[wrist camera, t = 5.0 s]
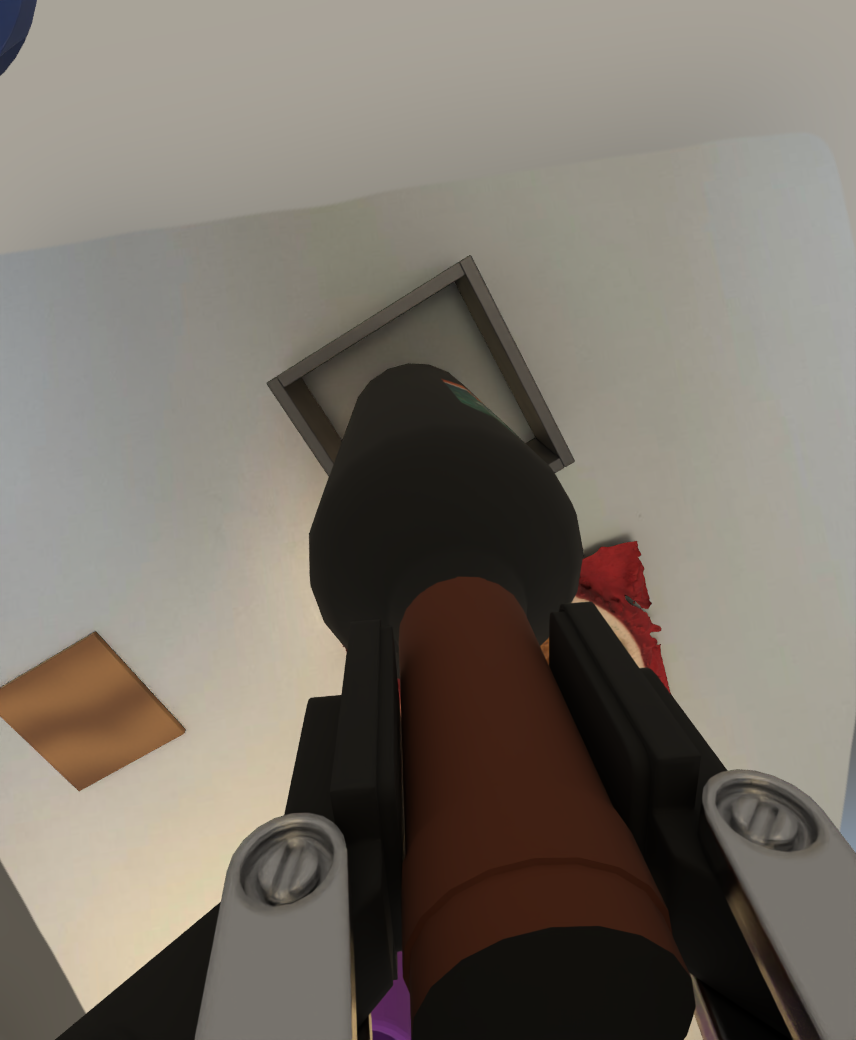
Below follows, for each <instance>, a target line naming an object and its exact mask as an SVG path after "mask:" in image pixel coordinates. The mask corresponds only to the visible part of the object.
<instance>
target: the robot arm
mask: <svg viewBox="0 0 856 1040" xmlns="http://www.w3.org/2000/svg"><path fill="white" fill-rule="evenodd" d="M549 667H550V669H551V671H552V674H553V676H554V678H555V680H556V682H557V684H558V687H559V689H560V691H561V693H562V695H563V698H564V700H565V702H566V704H567V706H568V709H569V711H570V713H571V715H572V717H573V720H574V722H575V724H576V726H577V728H578V730H579V733H580V735H581V737H582V739H583V741H584V744H585V746H586V748H587V750H588V752H589V755H590V757H591V759H592V761H593V763H594V766H595V768H596V770H597V772H598V774H599V776H600V779H601V781H602V783H603V785H604V787H605V790H606V792H607V794H608V796H609V798H610V801H611V803H612V805H613V807H614V809H615V810H616V811H617V813H618V814H619V815H620V817H621V818H622V820H623V821H624V822H625V824H626V825H627V827H628V828H629V830H630V831H631V832H632V834H633V837H634V839H635V841H636V843H637V845H638V847H639V849H640V852H641V854H642V856H643V858H644V860H645V862H646V864H647V866H648V869H649V871H650V873H651V875H652V877H653V879H654V881H655V884H656V886H657V888H658V890H659V892H660V894H661V896H662V898H663V901H664V903H665V905H666V907H667V909H668V911H669V917H670V923H671V929H672V935H673V939H674V941H675V943H676V945H677V947H678V949H679V952H680V954H681V956H682V958H683V960H684V963H685V965H686V967H687V969H688V971H689V974H690V976H691V978H692V983H693V990H694V996H695V1003H696V1009H695V1012H694V1015H695V1018H696V1021H697V1024H698V1026H699V1029H700V1032H701V1035H702V1038H703V1040H856V853H855V852H854V850H853V849H852V848H851V846H850V845H849V843H848V842H847V841H846V840H845V838H844V837H843V836H842V834H841V833H840V832H839V830H838V829H837V828H836V826H835V825H834V824H833V822H832V821H831V820H830V819H829V817H828V816H827V815H826V813H825V812H824V811H823V810H822V809H821V808H820V807H819V805H818V804H817V803H816V802H815V801H814V800H813V799H812V798H811V797H810V796H808V795H807V794H805V793H804V792H803V791H801V790H800V789H798V788H797V787H795V786H794V785H792V784H790V783H788V782H786V781H784V780H782V779H779V778H777V777H775V776H772V775H769V774H765V773H761V772H758V771H752V770H740V769H736V770H730V771H727V769H726V768H725V767H724V765H723V764H722V762H721V761H720V760H719V758H718V757H717V756H716V754H715V753H714V752H713V750H712V749H711V748H710V746H709V745H708V744H707V742H706V741H705V740H704V738H703V737H702V736H701V734H700V733H699V731H698V730H697V729H696V727H695V726H694V725H693V723H692V722H691V721H690V719H689V718H688V717H687V715H686V714H685V713H684V711H683V710H682V709H681V707H680V706H679V704H678V703H677V702H676V700H675V699H674V698H673V696H672V695H671V694H670V692H669V691H668V690H667V688H666V687H665V686H664V684H663V683H662V682H661V680H660V679H659V677H658V676H657V675H656V674H655V673H654V672H653V671H652V670H651V669H650V668H647V667H645V668H639V667H638V665H637V664H636V662H635V661H634V660H633V658H632V657H631V655H630V654H629V653H628V651H627V650H626V648H625V647H624V645H623V644H622V643H621V641H620V640H619V638H618V637H617V636H616V634H615V633H614V631H613V630H612V628H611V627H610V626H609V624H608V623H607V621H606V620H605V619H604V617H603V616H602V614H601V613H600V612H599V610H598V609H597V607H596V606H595V604H594V603H593V602H590V601H589V602H577V603H566V604H561V605H560V608H559V612H551V614H550V620H549ZM405 857H406V856H405V824H404V793H403V761H402V729H401V712H400V701H399V690H398V680H397V669H396V658H395V647H394V636H393V627H392V626H389V627H382V626H381V620H380V619H379V620H367V621H355V622H351V623H350V630H349V638H348V646H347V655H346V663H345V671H344V679H343V688H342V695H336V696H325V697H314V698H310V699H309V700H308V704H307V708H306V713H305V717H304V722H303V727H302V732H301V737H300V742H299V746H298V751H297V756H296V761H295V766H294V771H293V775H292V780H291V785H290V790H289V795H288V800H287V805H286V809H285V814H284V816H281V817H277V818H274V819H272V820H270V821H269V822H267V823H265V824H263V825H261V826H260V827H258V828H257V829H256V830H254V831H253V832H252V833H251V834H250V835H249V836H248V837H246V838H245V839H244V840H243V841H242V843H241V844H240V846H239V847H238V848H237V850H236V851H235V853H234V854H233V856H232V859H231V861H230V864H229V867H228V870H227V873H226V878H225V883H224V888H223V894H222V899H221V902H220V903H219V904H218V905H216V906H215V907H214V908H213V909H212V910H210V911H209V912H208V913H207V914H206V915H204V916H203V917H202V918H201V919H200V920H198V921H197V922H196V923H195V924H194V925H192V926H191V927H190V928H189V929H188V930H186V931H185V932H184V933H183V934H181V935H180V936H179V937H178V938H177V939H175V940H174V941H173V942H172V943H171V944H169V945H168V946H167V947H166V948H165V949H163V950H162V951H161V952H160V953H159V954H157V955H156V956H155V957H154V958H153V959H151V960H150V961H149V962H148V963H147V964H145V965H144V966H143V967H142V968H141V969H139V970H138V971H137V972H136V973H135V974H133V975H132V976H131V977H130V978H129V979H127V980H126V981H125V982H124V983H123V984H121V985H120V986H119V987H118V988H117V989H115V990H114V991H113V992H112V993H111V994H109V995H108V996H107V997H106V998H105V999H103V1000H102V1001H101V1002H100V1003H99V1004H97V1005H96V1006H95V1007H94V1008H93V1009H91V1010H90V1011H89V1012H88V1013H87V1014H85V1015H84V1016H83V1017H82V1018H81V1019H79V1020H78V1021H77V1022H76V1023H75V1024H73V1025H72V1026H71V1027H70V1028H69V1029H67V1030H66V1031H65V1032H64V1033H63V1034H61V1035H60V1036H59V1037H58V1038H57V1039H55V1040H373V1037H372V1019H371V1012H372V1011H373V1009H374V1008H375V1007H376V1006H377V1005H378V1003H379V1002H380V1001H381V1000H382V998H383V997H384V996H385V995H386V994H387V992H388V991H389V990H390V989H391V987H392V986H393V980H398V960H397V952H399V951H402V923H401V878H402V863H403V861H404V859H405Z"/></svg>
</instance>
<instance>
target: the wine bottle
mask: <svg viewBox="0 0 856 1040" xmlns="http://www.w3.org/2000/svg"><path fill="white" fill-rule="evenodd" d="M583 554H584V553H583V548H582V542H581V537H580V531H579V525H578V520H577V514H576V512H575V509H574V507H573V504H572V502H571V501H570V499H569V497H568V495H567V494H566V492H565V490H564V489H563V487H562V485H561V483H560V482H559V480H558V478H557V477H556V475H555V473H554V471H553V470H552V468H551V467H550V466H549V465H548V464H547V463H546V462H545V461H544V460H542V459H541V458H540V457H539V456H538V455H537V454H536V453H535V452H534V451H533V450H532V449H531V448H530V447H529V446H528V445H527V444H526V443H524V442H523V441H522V440H521V439H520V438H519V437H518V436H517V435H516V434H515V433H514V432H513V431H512V430H511V429H510V428H509V427H507V426H506V425H505V424H504V423H503V422H502V421H501V420H500V419H499V418H498V417H497V416H496V415H495V414H494V413H493V412H492V411H491V410H489V409H488V408H487V407H486V406H485V405H484V404H483V403H482V402H481V401H480V400H479V399H478V398H477V397H476V396H475V395H474V394H473V393H471V392H470V391H469V390H468V389H467V388H466V387H465V386H464V385H463V384H462V383H460V382H459V381H458V380H457V379H456V378H455V377H453V376H452V375H451V374H450V373H449V372H446V371H444V370H441V369H439V368H436V367H434V366H431V365H426V364H405V365H401V366H397V367H394V368H390V369H387V370H386V371H384V372H383V373H382V374H380V375H379V376H377V377H376V378H374V379H373V380H371V381H370V382H369V384H368V385H367V386H366V388H365V389H364V390H363V391H362V393H361V394H360V395H359V397H358V399H357V402H356V404H355V407H354V410H353V412H352V415H351V418H350V421H349V423H348V426H347V429H346V432H345V434H344V437H343V440H342V443H341V445H340V448H339V451H338V454H337V456H336V459H335V462H334V465H333V467H332V470H331V473H330V476H329V478H328V481H327V484H326V487H325V489H324V492H323V495H322V498H321V501H320V504H319V506H318V509H317V512H316V515H315V518H314V521H313V524H312V527H311V530H310V533H309V562H310V584H311V588H312V591H313V593H314V596H315V599H316V601H317V604H318V607H319V609H320V612H321V615H322V617H323V620H324V622H325V624H326V625H327V626H328V627H329V629H330V630H331V631H332V632H333V633H334V635H335V636H336V637H337V638H338V639H339V641H340V642H341V643H342V644H343V646H344V647H345V648H346V649H347V646H348V638H349V630H350V623H351V622H355V621H367V620H379V619H380V620H381V626H382V627H389V626H392V627H393V636H394V647H395V658H396V669H397V678H398V679H400V698H401V729H402V761H403V793H404V824H405V856H406V857H405V859H404V861H403V863H402V878H401V923H402V970H403V979H404V982H405V984H406V986H407V989H408V991H409V993H410V1014H411V1040H684V1038H685V1037H686V1036H687V1033H688V1030H689V1027H690V1024H691V1021H692V1018H693V1015H694V1012H695V1009H696V1003H695V996H694V990H693V983H692V978H691V976H690V974H689V971H688V969H687V967H686V965H685V963H684V960H683V958H682V956H681V954H680V952H679V949H678V947H677V945H676V943H675V941H674V939H673V935H672V929H671V923H670V917H669V911H668V909H667V907H666V905H665V903H664V901H663V898H662V896H661V894H660V892H659V890H658V888H657V886H656V884H655V881H654V879H653V877H652V875H651V873H650V871H649V869H648V866H647V864H646V862H645V860H644V858H643V856H642V854H641V852H640V849H639V847H638V845H637V843H636V841H635V839H634V837H633V834H632V832H631V831H630V830H629V828H628V827H627V825H626V824H625V822H624V821H623V820H622V818H621V817H620V815H619V814H618V813H617V811H616V810H615V809H614V807H613V805H612V803H611V801H610V798H609V796H608V794H607V792H606V790H605V787H604V785H603V783H602V781H601V779H600V776H599V774H598V772H597V770H596V768H595V766H594V763H593V761H592V759H591V757H590V755H589V752H588V750H587V748H586V746H585V744H584V741H583V739H582V737H581V735H580V733H579V730H578V728H577V726H576V724H575V722H574V720H573V717H572V715H571V713H570V711H569V709H568V706H567V704H566V702H565V700H564V698H563V695H562V693H561V691H560V689H559V687H558V684H557V682H556V680H555V678H554V676H553V674H552V671H551V669H550V667H549V665H548V663H547V660H546V658H545V656H544V654H543V652H542V649H541V647H540V646H541V645H542V644H543V643H544V642H545V641H546V640H547V639H548V638H549V620H550V614H551V612H559V608H560V605H561V604H566V603H572V601H573V599H574V597H575V595H576V593H577V591H578V585H579V578H580V572H581V566H582V560H583Z"/></svg>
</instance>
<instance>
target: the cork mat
mask: <svg viewBox="0 0 856 1040" xmlns="http://www.w3.org/2000/svg"><path fill="white" fill-rule="evenodd" d="M0 717H2V718H3V719H4V720H5V721H6V722H7V723H8V724H9V725H10V726H11V727H12V728H13V729H14V730H15V731H16V732H17V733H18V734H19V735H20V736H21V737H22V738H24V739H25V740H26V741H27V742H28V743H29V744H30V745H31V746H32V747H33V748H34V749H35V750H36V751H37V752H38V753H39V754H40V755H41V756H42V757H43V758H45V759H46V760H47V761H48V762H49V763H50V764H51V765H52V766H53V767H54V768H55V769H56V770H57V771H58V772H59V773H60V774H61V775H62V776H63V777H64V778H65V779H67V780H68V781H69V782H70V783H71V784H72V785H73V786H74V787H75V788H76V789H77V790H78V791H81V790H82V789H84V788H86V787H88V786H90V785H91V784H93V783H95V782H97V781H99V780H101V779H102V778H104V777H106V776H108V775H110V774H111V773H113V772H115V771H117V770H119V769H121V768H122V767H124V766H126V765H128V764H130V763H131V762H133V761H135V760H137V759H139V758H141V757H142V756H144V755H146V754H148V753H150V752H151V751H153V750H155V749H157V748H159V747H161V746H162V745H164V744H166V743H168V742H170V741H171V740H173V739H175V738H177V737H179V736H181V735H182V734H184V733H185V731H186V730H185V729H184V728H183V726H182V725H181V724H180V723H179V722H178V721H177V720H176V719H175V718H174V717H173V716H172V714H171V713H170V712H169V711H168V710H167V709H166V708H165V707H164V706H163V705H162V704H161V702H160V701H159V700H158V699H157V698H156V697H155V696H154V695H153V694H152V693H151V691H150V690H149V689H148V688H147V687H146V686H145V685H144V684H143V683H142V682H141V681H140V679H139V678H138V677H137V676H136V675H135V674H134V673H133V672H132V671H131V670H130V669H129V667H128V666H127V665H126V664H125V663H124V662H123V661H122V660H121V659H120V658H119V657H118V655H117V654H116V653H115V652H114V651H113V650H112V649H111V648H110V647H109V646H108V645H107V643H106V642H105V641H104V640H103V639H102V638H101V637H100V636H99V635H98V634H97V632H93V633H92V634H90V635H88V636H87V637H85V638H83V639H82V640H80V641H78V642H77V643H75V644H73V645H71V646H70V647H68V648H66V649H65V650H63V651H61V652H60V653H58V654H56V655H55V656H53V657H51V658H49V659H48V660H46V661H44V662H43V663H41V664H39V665H38V666H36V667H34V668H33V669H31V670H29V671H27V672H26V673H24V674H22V675H21V676H19V677H17V678H16V679H14V680H12V681H11V682H9V683H7V684H5V685H4V686H2V687H0Z"/></svg>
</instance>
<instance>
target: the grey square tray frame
mask: <svg viewBox="0 0 856 1040" xmlns="http://www.w3.org/2000/svg"><path fill="white" fill-rule="evenodd" d="M453 282H455V284H456V286H457V288H458V290H459V292H460V294H461V296H462V298H463V300H464V301H465V303H466V305H467V307H468V309H469V311H470V313H471V315H472V317H473V319H474V321H475V322H476V324H477V326H478V328H479V330H480V332H481V334H482V336H483V338H484V340H485V342H486V344H487V345H488V347H489V349H490V351H491V353H492V355H493V357H494V359H495V361H496V363H497V365H498V366H499V368H500V370H501V372H502V374H503V376H504V378H505V380H506V382H507V384H508V386H509V387H510V389H511V391H512V393H513V395H514V397H515V399H516V401H517V403H518V405H519V407H520V409H521V410H522V412H523V414H524V416H525V418H526V420H527V422H528V424H529V426H530V428H531V430H532V431H533V433H534V435H535V437H536V438H534V439H533V440H531V441H529V442H527V443H526V444H527V445H528V446H529V447H530V448H531V449H532V450H533V451H534V452H535V453H536V454H537V455H538V456H539V457H540V458H541V459H542V460H544V461H545V462H546V463H547V464H548V465H549V466H550V467H551V468H552V470H553V471H554V473H556V472H558V471H560V470H561V469H563V468H564V467H567V466H568V465H570V464H572V463H574V462H575V460H574V458H573V456H572V454H571V452H570V450H569V448H568V446H567V444H566V442H565V440H564V438H563V436H562V434H561V432H560V430H559V429H558V427H557V425H556V423H555V421H554V419H553V417H552V415H551V413H550V411H549V409H548V407H547V405H546V403H545V401H544V399H543V397H542V395H541V393H540V391H539V389H538V387H537V385H536V383H535V381H534V379H533V377H532V375H531V373H530V371H529V369H528V367H527V365H526V363H525V361H524V359H523V357H522V355H521V353H520V351H519V349H518V347H517V345H516V343H515V341H514V340H513V338H512V336H511V334H510V332H509V330H508V328H507V326H506V324H505V322H504V320H503V318H502V316H501V314H500V312H499V310H498V308H497V306H496V304H495V302H494V300H493V298H492V296H491V294H490V292H489V290H488V288H487V286H486V284H485V282H484V280H483V278H482V276H481V274H480V272H479V270H478V268H477V266H476V264H475V262H474V260H473V258H472V256H471V255H469V256H467V257H466V258H464V259H463V260H461V261H460V262H458V263H456V264H455V265H453V266H451V267H450V268H448V269H447V270H445V271H443V272H442V273H440V274H439V275H437V276H436V277H434V278H432V279H431V280H429V281H428V282H426V283H424V284H423V285H421V286H420V287H418V288H416V289H415V290H413V291H412V292H410V293H408V294H407V295H405V296H404V297H402V298H401V299H399V300H397V301H396V302H394V303H393V304H391V305H389V306H388V307H386V308H385V309H383V310H381V311H380V312H378V313H377V314H375V315H373V316H372V317H370V318H369V319H367V320H366V321H364V322H362V323H361V324H359V325H358V326H356V327H354V328H353V329H351V330H350V331H348V332H346V333H345V334H343V335H342V336H340V337H338V338H337V339H335V340H334V341H332V342H331V343H329V344H327V345H326V346H324V347H323V348H321V349H319V350H318V351H316V352H315V353H313V354H311V355H310V356H308V357H307V358H305V359H303V360H302V361H300V362H299V363H297V364H296V365H294V366H292V367H291V368H289V369H288V370H286V371H284V372H283V373H281V374H280V375H278V376H277V377H275V378H273V379H272V380H270V381H268V382H267V385H268V387H269V388H270V390H271V391H272V393H273V394H274V396H275V397H276V399H277V400H278V402H279V403H280V405H281V406H282V408H283V409H284V411H285V412H286V414H287V415H288V417H289V418H290V420H291V421H292V423H293V424H294V425H295V427H296V428H297V430H298V431H299V433H300V434H301V436H302V437H303V439H304V440H305V442H306V443H307V445H308V446H309V448H310V449H311V451H312V452H313V454H314V455H315V457H316V458H317V460H318V461H319V463H320V464H321V466H322V467H323V469H324V470H325V472H326V473H327V475H328V476H330V473H331V470H332V467H333V465H334V462H335V459H336V456H337V454H338V451H339V448H340V445H341V443H342V440H341V438H340V437H339V435H338V434H337V432H336V431H335V429H334V428H333V426H332V424H331V423H330V421H329V420H328V418H327V417H326V415H325V414H324V412H323V411H322V409H321V407H320V406H319V404H318V403H317V401H316V400H315V398H314V397H313V395H312V394H311V392H310V390H309V389H308V387H307V386H306V384H305V383H304V381H303V380H302V378H301V377H302V376H304V375H306V374H307V373H309V372H310V371H312V370H314V369H315V368H317V367H318V366H320V365H322V364H323V363H325V362H326V361H328V360H330V359H331V358H333V357H334V356H336V355H338V354H339V353H341V352H342V351H344V350H346V349H347V348H349V347H350V346H352V345H354V344H355V343H357V342H359V341H360V340H362V339H363V338H365V337H367V336H368V335H370V334H371V333H373V332H375V331H376V330H378V329H379V328H381V327H383V326H384V325H386V324H387V323H389V322H391V321H392V320H394V319H395V318H397V317H399V316H400V315H402V314H403V313H405V312H407V311H408V310H410V309H411V308H413V307H415V306H416V305H418V304H419V303H421V302H423V301H424V300H426V299H427V298H429V297H431V296H432V295H434V294H435V293H437V292H439V291H440V290H442V289H443V288H445V287H447V286H448V285H450V284H451V283H453Z"/></svg>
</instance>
